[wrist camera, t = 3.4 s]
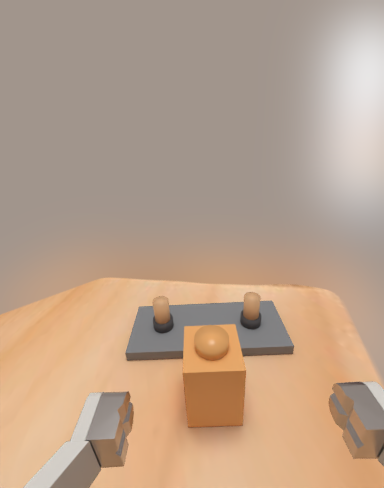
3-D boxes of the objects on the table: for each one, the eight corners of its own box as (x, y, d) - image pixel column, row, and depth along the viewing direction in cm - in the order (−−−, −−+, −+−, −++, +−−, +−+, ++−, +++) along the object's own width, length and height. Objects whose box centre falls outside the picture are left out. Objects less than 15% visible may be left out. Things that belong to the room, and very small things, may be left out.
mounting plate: (127, 360, 35) (119, 326, 32) (140, 313, 44) (134, 283, 41) (292, 353, 34) (298, 318, 31) (271, 307, 43) (274, 277, 40)
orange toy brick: (188, 427, 26) (181, 364, 22) (188, 377, 32) (183, 318, 27) (242, 425, 26) (246, 361, 22) (233, 375, 32) (235, 316, 27)
